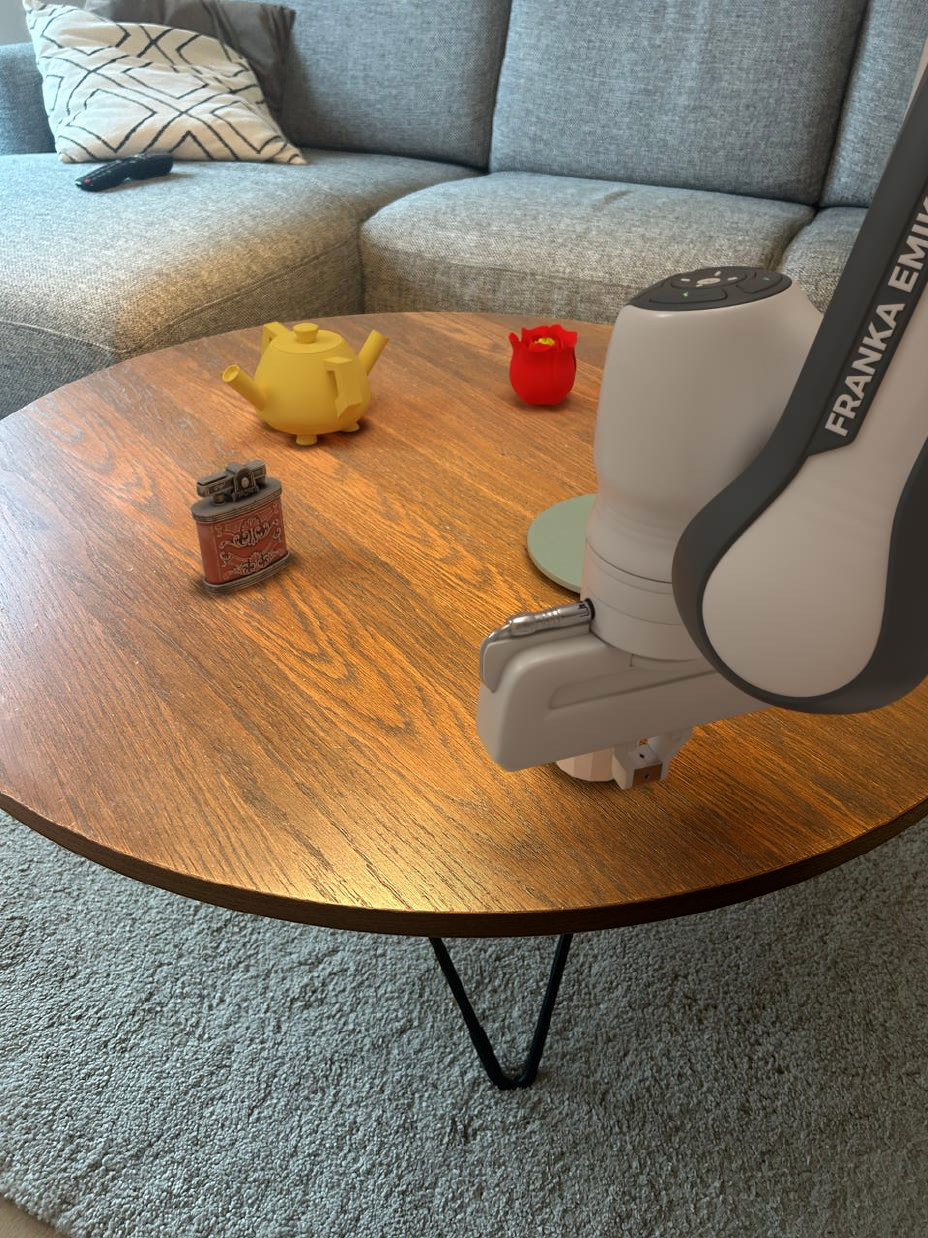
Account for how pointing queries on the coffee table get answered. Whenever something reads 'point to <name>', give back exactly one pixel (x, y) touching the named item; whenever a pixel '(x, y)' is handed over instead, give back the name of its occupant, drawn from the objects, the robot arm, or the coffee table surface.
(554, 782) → the coffee table surface
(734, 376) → the robot arm
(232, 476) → the lighter
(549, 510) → the plate
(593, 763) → the shot glass
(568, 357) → the flower
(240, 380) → the teapot
